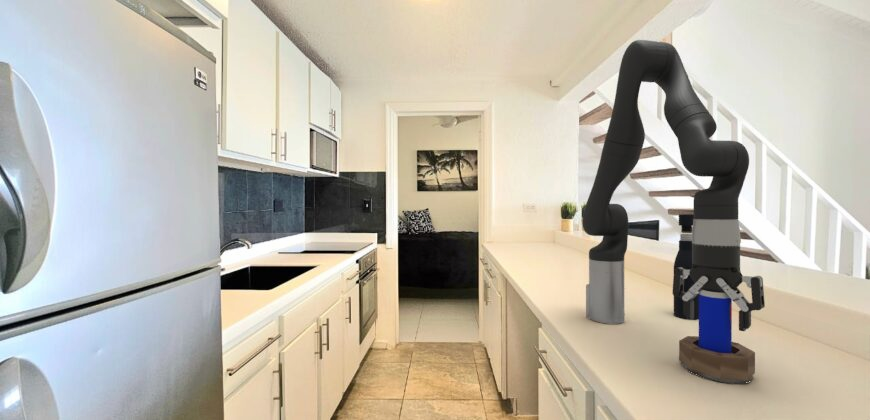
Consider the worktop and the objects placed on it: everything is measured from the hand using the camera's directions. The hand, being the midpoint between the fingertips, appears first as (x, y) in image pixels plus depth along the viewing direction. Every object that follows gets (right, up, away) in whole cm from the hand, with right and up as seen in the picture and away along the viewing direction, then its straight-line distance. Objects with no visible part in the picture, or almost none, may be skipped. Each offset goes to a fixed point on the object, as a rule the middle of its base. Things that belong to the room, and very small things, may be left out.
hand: (715, 324), depth 72 cm
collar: (0, -9, 0) cm, 9 cm away
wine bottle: (+19, -9, +35) cm, 41 cm away
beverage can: (0, -9, 0) cm, 9 cm away
